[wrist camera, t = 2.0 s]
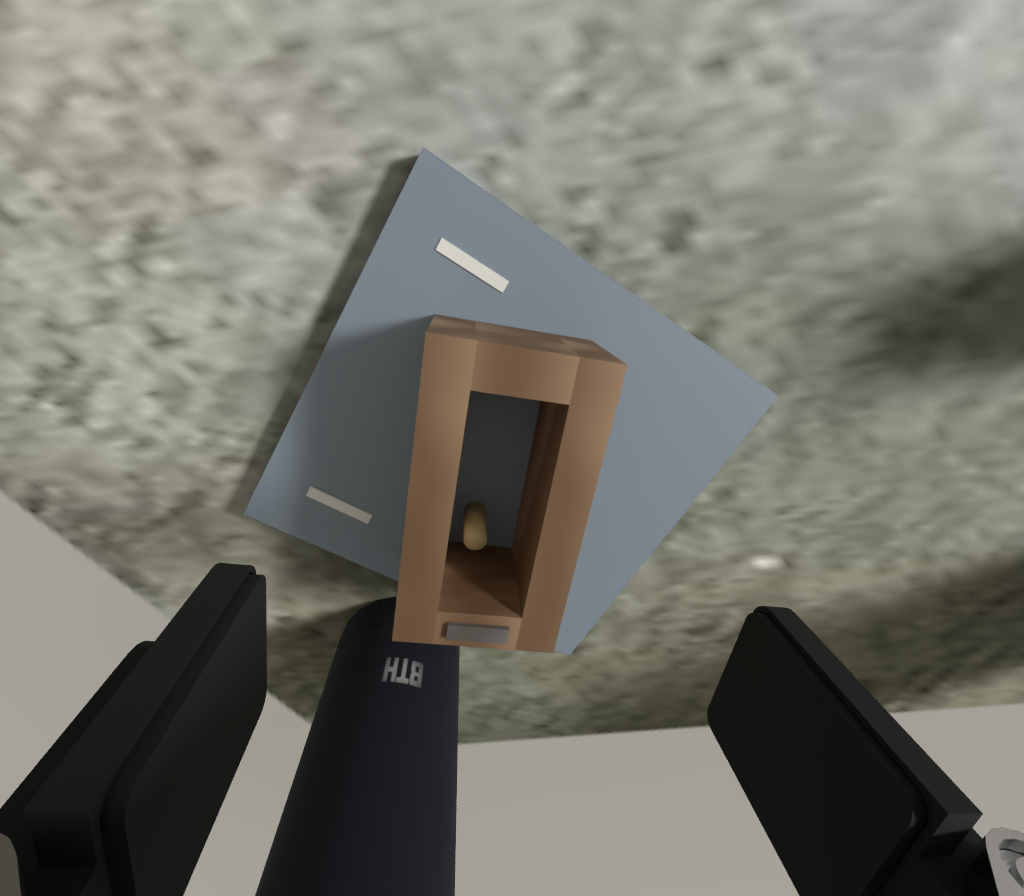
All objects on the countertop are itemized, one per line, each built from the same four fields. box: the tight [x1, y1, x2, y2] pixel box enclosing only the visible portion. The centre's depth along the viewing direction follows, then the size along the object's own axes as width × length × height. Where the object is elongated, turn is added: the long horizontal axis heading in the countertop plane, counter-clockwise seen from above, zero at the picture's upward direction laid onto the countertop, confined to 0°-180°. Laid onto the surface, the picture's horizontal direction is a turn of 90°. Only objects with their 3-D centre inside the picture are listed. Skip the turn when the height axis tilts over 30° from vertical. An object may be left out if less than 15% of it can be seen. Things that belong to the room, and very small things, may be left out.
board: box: [244, 147, 778, 655], centre depth 21 cm, size 18×17×4 cm
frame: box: [392, 314, 627, 653], centre depth 20 cm, size 6×12×5 cm, turn 170°
